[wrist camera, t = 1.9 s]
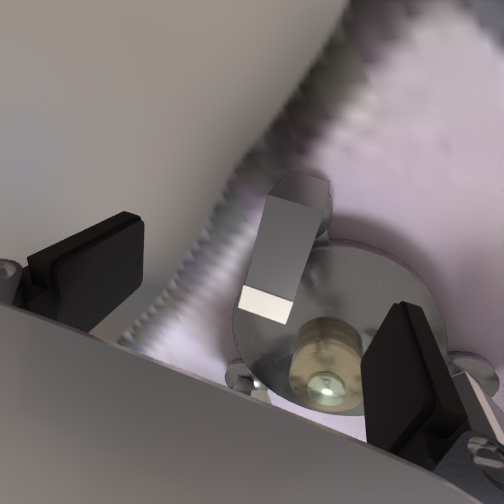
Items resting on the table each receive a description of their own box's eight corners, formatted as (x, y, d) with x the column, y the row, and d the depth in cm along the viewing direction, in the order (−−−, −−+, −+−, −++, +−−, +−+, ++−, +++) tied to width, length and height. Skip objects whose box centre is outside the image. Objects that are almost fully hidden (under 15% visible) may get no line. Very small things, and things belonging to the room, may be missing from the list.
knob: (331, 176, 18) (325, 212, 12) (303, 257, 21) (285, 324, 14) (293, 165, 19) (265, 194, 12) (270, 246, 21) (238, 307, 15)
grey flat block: (473, 417, 23) (529, 544, 16) (424, 367, 22) (460, 478, 15) (507, 406, 22) (583, 539, 15) (456, 353, 21) (511, 466, 14)
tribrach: (493, 399, 23) (544, 493, 17) (237, 394, 31) (213, 457, 25) (490, 128, 16) (572, 135, 10) (162, 212, 24) (106, 243, 19)
